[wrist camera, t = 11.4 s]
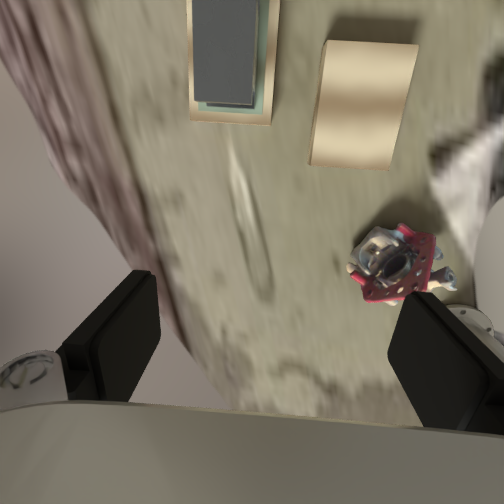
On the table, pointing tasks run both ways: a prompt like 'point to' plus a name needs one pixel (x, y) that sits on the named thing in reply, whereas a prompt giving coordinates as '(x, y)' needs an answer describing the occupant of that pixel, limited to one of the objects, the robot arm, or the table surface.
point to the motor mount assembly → (398, 264)
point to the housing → (225, 52)
